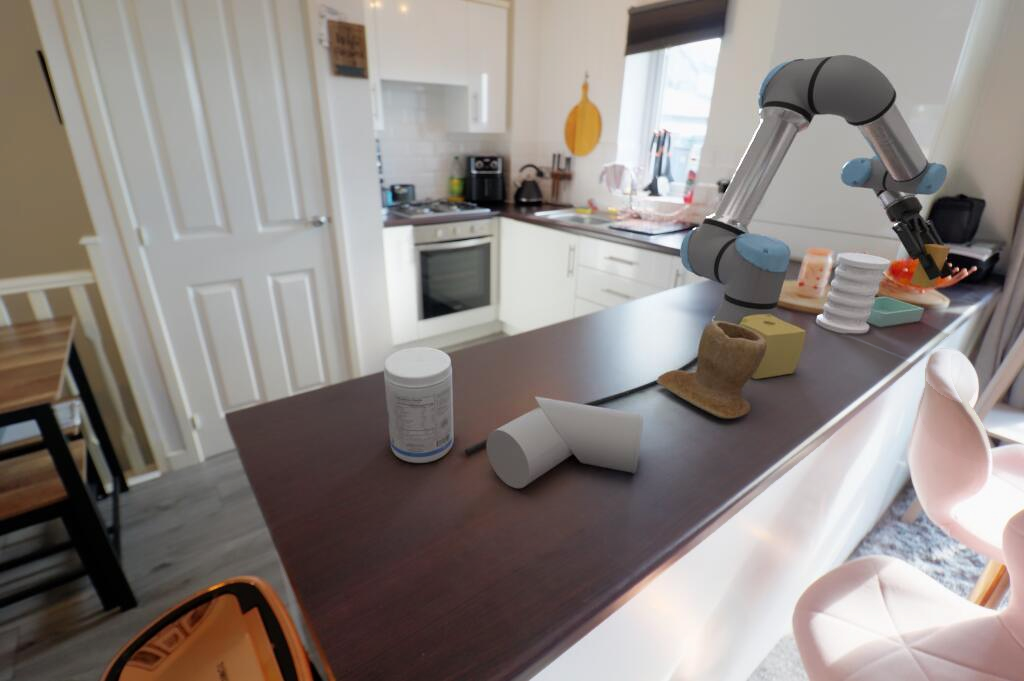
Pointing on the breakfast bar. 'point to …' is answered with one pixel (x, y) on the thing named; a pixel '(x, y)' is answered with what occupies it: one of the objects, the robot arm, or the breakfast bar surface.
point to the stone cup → (719, 370)
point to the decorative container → (852, 292)
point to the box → (893, 312)
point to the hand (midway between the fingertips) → (941, 276)
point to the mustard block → (939, 257)
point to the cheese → (776, 344)
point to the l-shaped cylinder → (564, 440)
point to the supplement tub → (419, 403)
